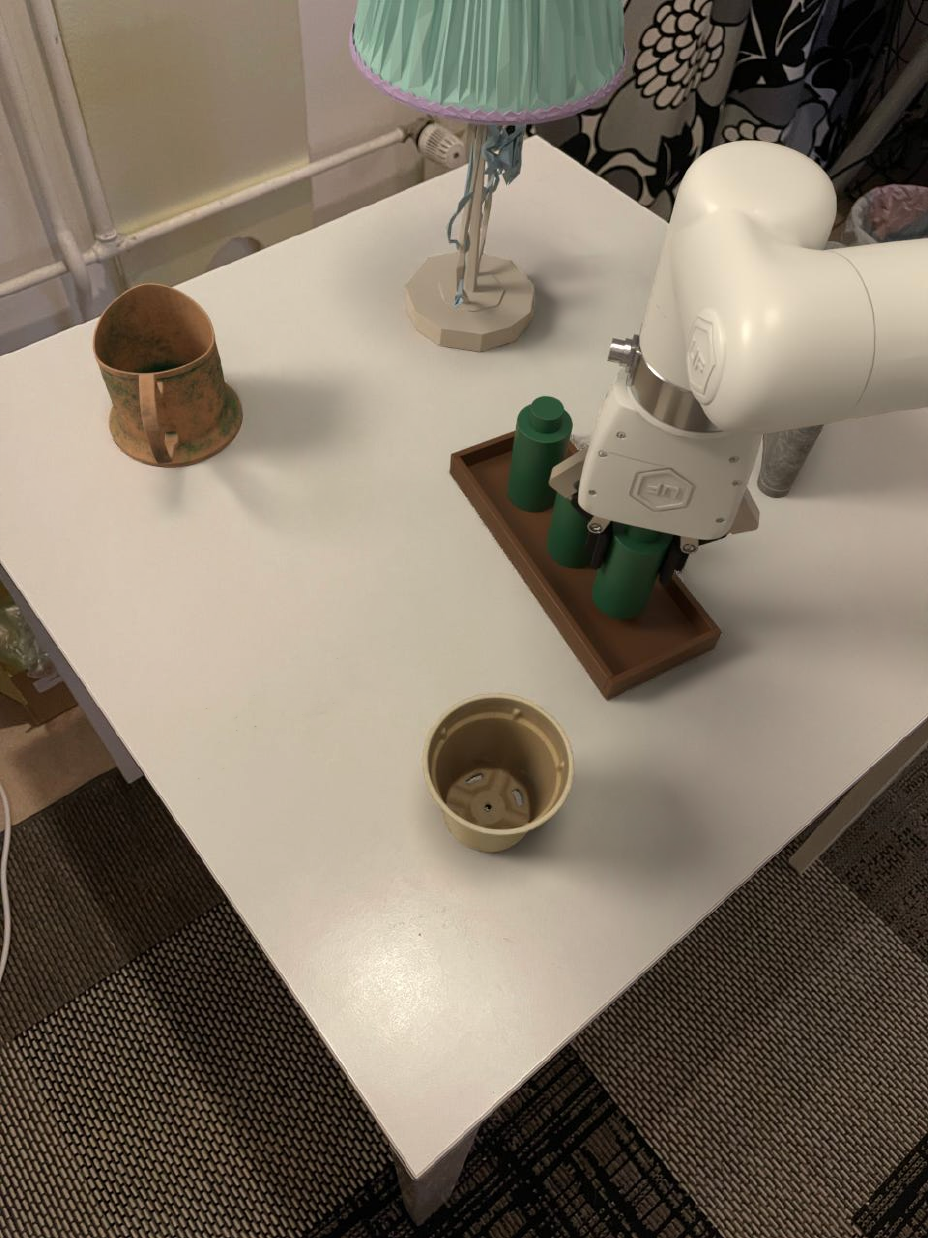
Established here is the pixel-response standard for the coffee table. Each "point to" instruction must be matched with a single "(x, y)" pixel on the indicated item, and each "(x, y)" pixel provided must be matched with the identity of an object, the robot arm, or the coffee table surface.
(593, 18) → the table lamp
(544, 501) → the bottle far
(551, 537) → the bottle mid
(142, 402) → the mug
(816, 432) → the flask
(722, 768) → the coffee table surface
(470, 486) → the tray
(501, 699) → the flower pot
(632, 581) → the bottle
